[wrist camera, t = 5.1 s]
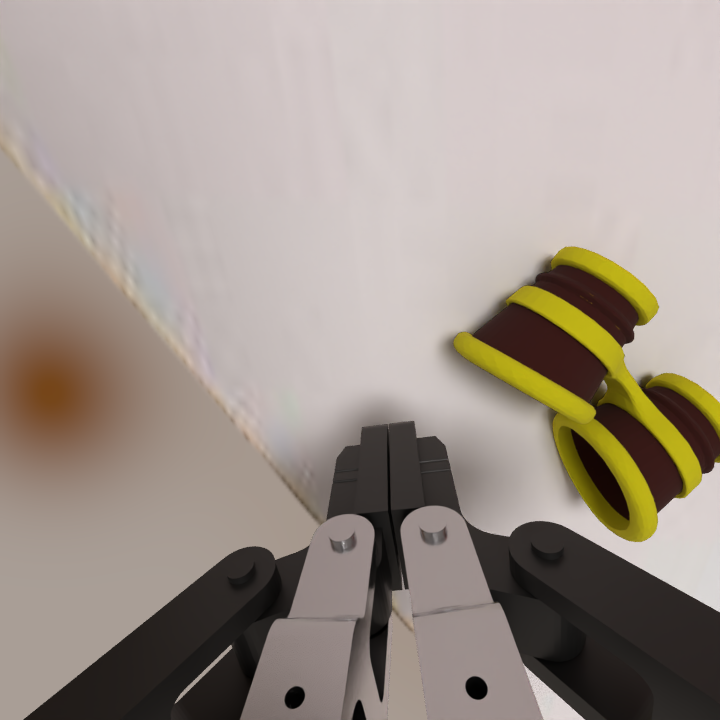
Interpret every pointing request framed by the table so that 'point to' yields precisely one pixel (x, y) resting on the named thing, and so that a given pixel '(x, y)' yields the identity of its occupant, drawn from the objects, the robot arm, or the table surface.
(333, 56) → the table surface
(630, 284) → the opera glasses
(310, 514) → the table surface
